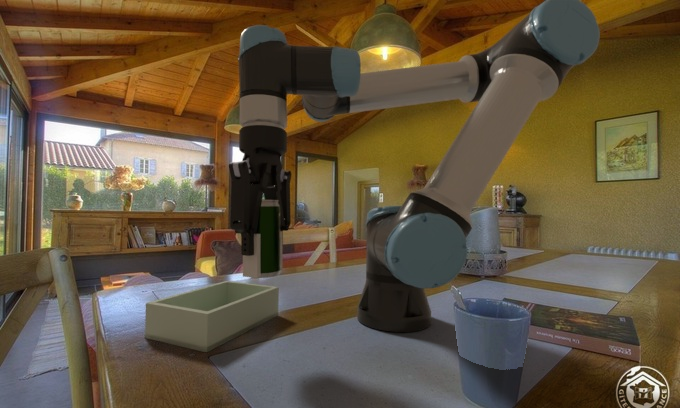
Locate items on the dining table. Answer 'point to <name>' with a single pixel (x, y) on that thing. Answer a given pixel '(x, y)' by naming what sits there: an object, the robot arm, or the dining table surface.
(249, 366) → the dining table surface
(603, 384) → the dining table surface
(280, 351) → the dining table surface
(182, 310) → the box
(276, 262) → the beer can
